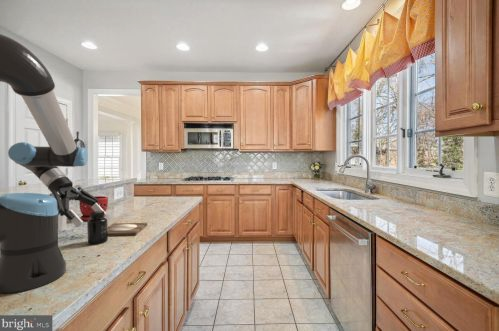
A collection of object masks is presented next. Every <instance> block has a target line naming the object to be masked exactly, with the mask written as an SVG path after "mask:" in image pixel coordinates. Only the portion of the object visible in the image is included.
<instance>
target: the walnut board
mask: <svg viewBox="0 0 499 331" xmlns="http://www.w3.org/2000/svg"><path fill="white" fill-rule="evenodd" d="M147 226H148V222H125V223H124V222H119V223H117V222H116V223H112V224H110V225H109V226H108V237H128V236H129V237H130V236H132V237H133V236H134V237H135V236H137V235H138V234H140V232H141V231H143V230H144V229H145V228H146V227H147Z"/></svg>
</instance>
